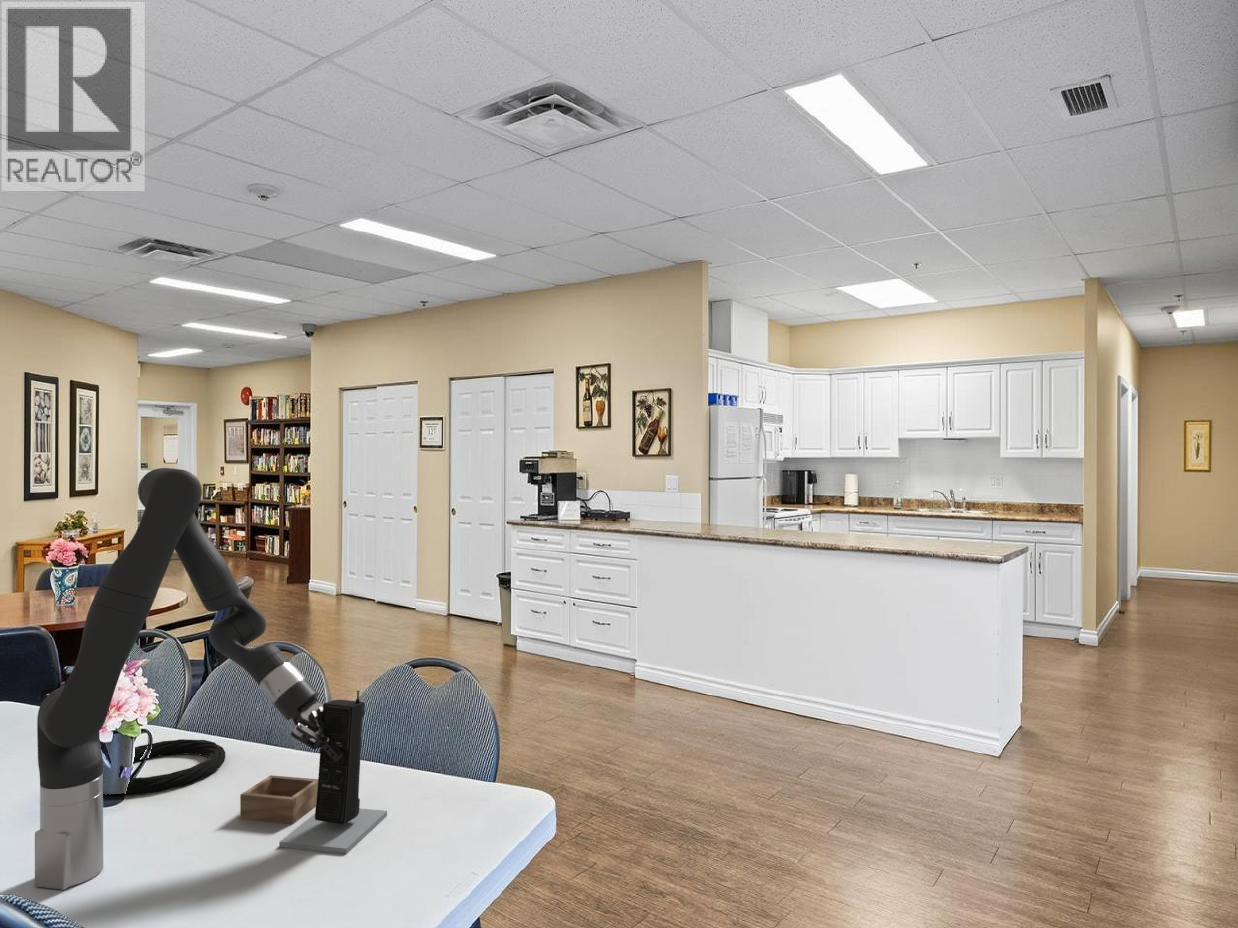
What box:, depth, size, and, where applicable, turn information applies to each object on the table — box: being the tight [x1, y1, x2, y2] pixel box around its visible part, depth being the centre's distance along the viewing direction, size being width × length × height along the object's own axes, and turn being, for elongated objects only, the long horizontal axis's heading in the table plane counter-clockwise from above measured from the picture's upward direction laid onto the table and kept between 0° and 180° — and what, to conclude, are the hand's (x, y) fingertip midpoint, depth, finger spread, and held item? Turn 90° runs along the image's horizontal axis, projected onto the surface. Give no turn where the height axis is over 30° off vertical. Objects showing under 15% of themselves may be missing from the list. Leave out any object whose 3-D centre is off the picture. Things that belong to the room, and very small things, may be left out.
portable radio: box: [314, 690, 366, 824], centre depth 157 cm, size 8×6×25 cm
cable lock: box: [125, 739, 226, 796], centre depth 184 cm, size 28×4×30 cm
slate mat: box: [278, 807, 388, 855], centre depth 156 cm, size 16×14×1 cm
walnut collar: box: [239, 774, 318, 825], centre depth 164 cm, size 10×12×5 cm
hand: (344, 755), depth 155 cm, fingers closed on portable radio, 2 cm apart
